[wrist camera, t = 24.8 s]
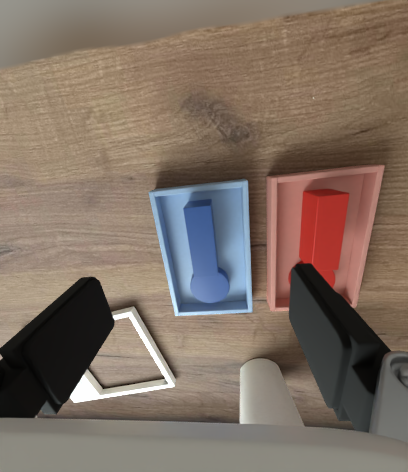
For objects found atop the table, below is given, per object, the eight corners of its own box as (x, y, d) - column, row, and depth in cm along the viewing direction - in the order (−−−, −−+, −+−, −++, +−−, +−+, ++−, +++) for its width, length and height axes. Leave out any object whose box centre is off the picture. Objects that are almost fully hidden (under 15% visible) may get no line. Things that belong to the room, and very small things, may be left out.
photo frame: (16, 340, 27) (130, 312, 24) (24, 333, 28) (133, 306, 25) (73, 404, 32) (174, 387, 28) (78, 396, 33) (176, 379, 29)
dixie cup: (281, 394, 29) (311, 502, 20) (226, 386, 30) (231, 490, 20) (297, 356, 26) (341, 462, 17) (236, 347, 26) (246, 448, 17)
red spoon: (291, 192, 18) (305, 197, 15) (340, 186, 18) (363, 191, 15) (287, 293, 22) (297, 312, 20) (327, 291, 22) (343, 310, 19)
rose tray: (368, 164, 17) (385, 164, 16) (345, 296, 22) (356, 307, 21) (266, 176, 18) (271, 177, 17) (266, 300, 23) (270, 311, 22)
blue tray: (245, 178, 18) (247, 180, 17) (250, 301, 24) (252, 312, 22) (154, 189, 19) (148, 191, 18) (178, 304, 24) (175, 316, 23)
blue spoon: (178, 202, 19) (171, 209, 17) (221, 197, 19) (222, 203, 16) (194, 297, 23) (190, 316, 21) (230, 295, 23) (232, 314, 20)
